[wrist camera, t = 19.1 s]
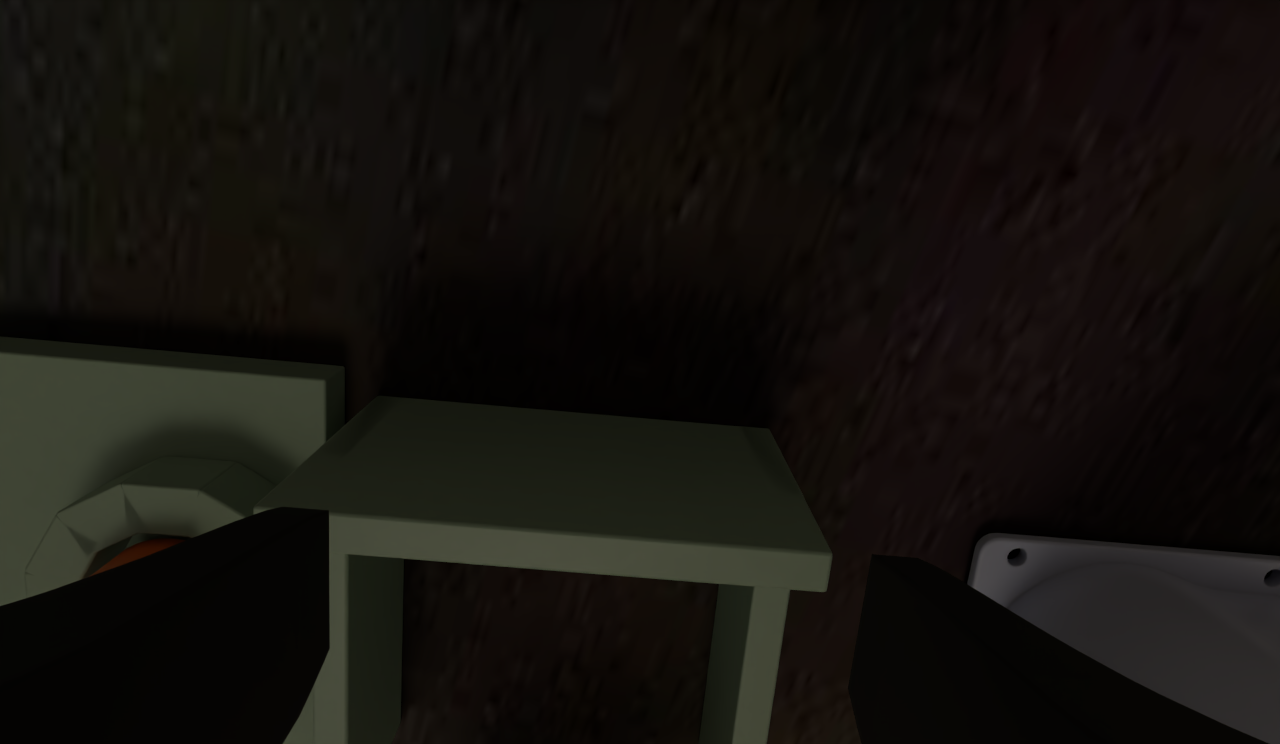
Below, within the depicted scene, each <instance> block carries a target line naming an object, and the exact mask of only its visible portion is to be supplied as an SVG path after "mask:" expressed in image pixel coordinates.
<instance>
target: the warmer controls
mask: <svg viewBox="0 0 1280 744" xmlns="http://www.w3.org/2000/svg"><path fill="white" fill-rule="evenodd" d="M344 425H345V368H344V367H343V366H336V365H324V364H313V363H301V362H290V361H278V360H266V359H255V358H243V357H232V356H220V355H209V354H197V353H185V352H174V351H162V350H151V349H139V348H128V347H116V346H105V345H93V344H81V343H70V342H58V341H47V340H35V339H24V338H12V337H0V606H2V605H6V604H9V603H12V602H15V601H19V600H22V599H25V598H28V597H32V596H35V595H38V594H41V593H44V592H47V591H50V590H53V589H56V588H59V587H62V586H65V585H67V584H70V583H73V582H76V581H78V580H81V579H84V578H87V577H89V576H91V575H92V574H93V573H95V572H96V571H97V570H99V569H100V568H101V567H103V566H104V565H105V564H107V563H108V562H109V561H111V560H112V559H113V558H115V557H116V556H117V555H119V554H120V553H121V552H123V551H124V550H125V549H127V548H129V547H131V546H132V545H135V544H137V543H140V542H143V541H147V540H151V539H160V538H174V539H181V540H188V539H191V538H193V537H196V536H199V535H201V534H204V533H206V532H209V531H211V530H214V529H216V528H219V527H221V526H224V525H227V524H229V523H232V522H235V521H237V520H240V519H243V518H245V517H248V516H251V515H253V508H254V506H255V505H256V504H257V503H258V502H259V501H260V500H262V499H263V498H264V497H265V496H266V495H267V494H268V493H269V492H271V491H272V490H273V489H274V488H275V487H276V486H277V485H278V484H279V483H281V482H282V481H283V480H284V479H285V478H286V477H287V476H288V475H290V474H291V473H292V472H293V471H294V470H295V469H296V468H297V467H299V466H300V465H301V464H302V463H303V462H304V461H305V460H306V459H307V458H309V457H310V456H311V455H312V454H313V453H314V452H315V451H316V450H318V449H319V448H320V447H321V446H322V445H323V444H324V443H325V442H326V441H328V440H329V439H330V438H331V437H332V436H333V435H334V434H335V433H337V432H338V431H339V430H340V429H341V428H342V427H343V426H344ZM283 744H313V688H312V690H311V693H310V695H309V697H308V699H307V701H306V703H305V705H304V708H303V710H302V712H301V714H300V716H299V718H298V719H297V721H296V723H295V724H294V726H293V728H292V729H291V731H290V733H289V734H288V736H287V738H286V739H285V741H284V743H283Z"/></svg>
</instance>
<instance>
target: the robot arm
mask: <svg viewBox="0 0 1280 744" xmlns="http://www.w3.org/2000/svg"><path fill="white" fill-rule="evenodd" d="M1017 548H1020V552H1019V554H1018V556H1017V557H1015V558H1014V559H1007V556H1008V554H1009V552H1010V551H1012V550H1013V549H1017ZM1271 570H1272V573H1271V575H1270V576H1269V577H1267V578H1266V579H1264V577H1265V575H1266V574H1267V573H1268V572H1269V571H1271ZM329 649H330V602H329V510H318V509H306V508H294V507H278V508H274V509H270V510H266V511H263V512H260V513H257V514H254V515H251V516H248V517H245V518H243V519H240V520H237V521H235V522H232V523H229V524H227V525H224V526H221V527H219V528H216V529H214V530H211V531H209V532H206V533H204V534H201V535H199V536H196V537H193V538H191V539H188V540H186V541H183V542H181V543H178V544H176V545H173V546H171V547H168V548H165V549H163V550H160V551H158V552H155V553H153V554H150V555H148V556H145V557H142V558H140V559H137V560H134V561H131V562H129V563H126V564H123V565H120V566H118V567H115V568H112V569H109V570H106V571H104V572H101V573H98V574H95V575H92V576H90V577H87V578H84V579H81V580H78V581H76V582H73V583H70V584H67V585H65V586H62V587H59V588H56V589H53V590H50V591H47V592H44V593H41V594H38V595H35V596H32V597H28V598H25V599H22V600H19V601H15V602H12V603H9V604H6V605H2V606H0V744H283V743H284V741H285V739H286V738H287V736H288V734H289V733H290V731H291V729H292V728H293V726H294V724H295V723H296V721H297V719H298V718H299V716H300V714H301V712H302V710H303V708H304V705H305V703H306V701H307V699H308V697H309V695H310V693H311V690H312V688H313V686H314V684H315V682H316V679H317V677H318V675H319V672H320V670H321V668H322V665H323V663H324V661H325V658H326V656H327V654H328V651H329ZM848 690H849V694H850V698H851V702H852V707H853V711H854V715H855V719H856V724H857V728H858V731H859V735H860V739H861V743H862V744H1280V556H1273V555H1261V554H1249V553H1237V552H1225V551H1213V550H1201V549H1188V548H1176V547H1164V546H1152V545H1140V544H1128V543H1116V542H1103V541H1091V540H1079V539H1067V538H1055V537H1043V536H1031V535H1018V534H1006V533H989V534H987V535H985V536H983V537H982V538H981V539H980V540H979V541H978V542H977V544H976V546H975V549H974V554H973V559H972V563H971V568H970V573H969V577H968V582H967V584H966V583H964V582H963V581H961V580H959V579H957V578H956V577H954V576H952V575H951V574H949V573H947V572H945V571H943V570H942V569H940V568H938V567H936V566H934V565H932V564H930V563H928V562H925V561H923V560H921V559H918V558H910V557H897V556H885V555H873V554H872V558H871V563H870V569H869V574H868V580H867V586H866V591H865V597H864V602H863V608H862V613H861V619H860V625H859V630H858V636H857V641H856V647H855V652H854V658H853V664H852V669H851V675H850V680H849V686H848Z"/></svg>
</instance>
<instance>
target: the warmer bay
mask: <svg viewBox="0 0 1280 744" xmlns="http://www.w3.org/2000/svg"><path fill="white" fill-rule="evenodd" d="M278 507H294V508H306V509H318V510H329V602H330V649H329V651H328V654H327V656H326V658H325V661H324V663H323V665H322V668H321V670H320V672H319V675H318V677H317V679H316V682H315V684H314V686H313V744H392V741H393V739H394V737H395V734H396V732H397V730H398V727H399V725H400V722H401V680H402V631H403V582H404V559H414V560H427V561H440V562H452V563H465V564H477V565H490V566H502V567H515V568H527V569H540V570H553V571H565V572H578V573H590V574H603V575H615V576H628V577H641V578H653V579H666V580H678V581H691V582H703V583H716V584H719V589H718V597H717V604H716V612H715V620H714V628H713V635H712V643H711V651H710V659H709V667H708V674H707V682H706V690H705V698H704V705H703V713H702V721H701V729H700V736H699V744H767V738H768V731H769V725H770V718H771V712H772V705H773V699H774V692H775V686H776V679H777V673H778V666H779V660H780V653H781V646H782V640H783V633H784V627H785V620H786V614H787V607H788V601H789V594H790V589H791V590H804V591H816V592H825V591H826V590H827V586H828V580H829V574H830V568H831V562H832V556H833V555H832V552H831V550H830V548H829V546H828V544H827V542H826V540H825V538H824V536H823V534H822V532H821V530H820V528H819V527H818V525H817V523H816V521H815V519H814V517H813V515H812V513H811V511H810V509H809V507H808V505H807V503H806V501H805V499H804V496H803V494H802V492H801V490H800V488H799V486H798V484H797V482H796V481H795V479H794V477H793V475H792V473H791V471H790V469H789V467H788V465H787V463H786V461H785V459H784V457H783V455H782V453H781V451H780V449H779V447H778V445H777V443H776V441H775V440H774V438H773V436H772V434H771V432H770V430H769V429H767V428H755V427H744V426H741V427H740V426H729V425H717V424H705V423H693V422H682V421H670V420H658V419H647V418H635V417H623V416H612V415H600V414H588V413H577V412H565V411H553V410H541V409H530V408H518V407H506V406H495V405H483V404H471V403H460V402H448V401H436V400H424V399H413V398H401V397H389V396H377V397H376V398H375V399H373V400H372V401H371V402H370V403H369V404H368V405H367V406H366V407H365V408H363V409H362V410H361V411H360V412H359V413H358V414H357V415H356V416H354V417H353V418H352V419H351V420H350V421H349V422H348V423H347V424H345V425H344V426H343V427H342V428H341V429H340V430H339V431H338V432H337V433H335V434H334V435H333V436H332V437H331V438H330V439H329V440H328V441H326V442H325V443H324V444H323V445H322V446H321V447H320V448H319V449H318V450H316V451H315V452H314V453H313V454H312V455H311V456H310V457H309V458H307V459H306V460H305V461H304V462H303V463H302V464H301V465H300V466H299V467H297V468H296V469H295V470H294V471H293V472H292V473H291V474H290V475H288V476H287V477H286V478H285V479H284V480H283V481H282V482H281V483H279V484H278V485H277V486H276V487H275V488H274V489H273V490H272V491H271V492H269V493H268V494H267V495H266V496H265V497H264V498H263V499H262V500H260V501H259V502H258V503H257V504H256V505H255V506H254V508H253V515H254V514H257V513H260V512H263V511H266V510H270V509H274V508H278Z"/></svg>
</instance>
